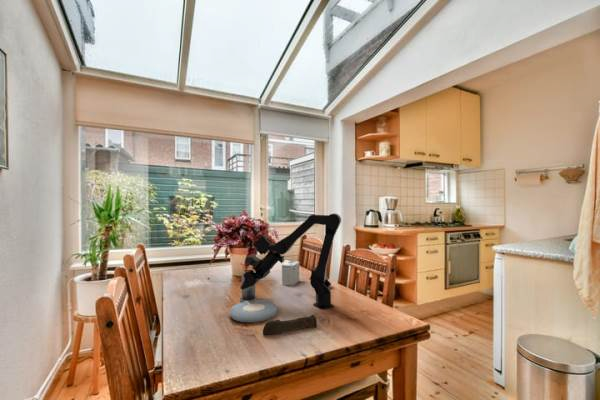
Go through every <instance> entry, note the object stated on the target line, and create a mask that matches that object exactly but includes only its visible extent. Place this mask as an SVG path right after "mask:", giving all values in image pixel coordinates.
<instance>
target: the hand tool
mask: <svg viewBox="0 0 600 400" xmlns="http://www.w3.org/2000/svg"><path fill="white" fill-rule="evenodd" d="M317 326H318V323H317V317H316V316H315V315H314V314H311V315H309V316H303V317H298V318H294V319H289V320H280V319H275V320H269V321H266V322H265V324H264V327H263V328H262V335H263V336H265V337H267V336H269V337H270V336H277V335H281V334H282V333H285V332H290V331H294V330H301V329H307V328H312V327H314V328H317Z"/></svg>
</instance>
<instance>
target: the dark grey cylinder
mask: <svg viewBox="0 0 600 400" xmlns="http://www.w3.org/2000/svg"><path fill="white" fill-rule="evenodd" d="M244 273H245V272H243V273H241V285H242V284H243V282H244V280H245V278H244V276H243V274H244ZM251 300H258V296H256V284H255V285H253V286H250V287H248V288H245V289H243V290H241V297H239V303H241V302H245V301H251Z"/></svg>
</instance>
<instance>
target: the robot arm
mask: <svg viewBox="0 0 600 400" xmlns="http://www.w3.org/2000/svg"><path fill="white" fill-rule="evenodd" d="M341 223H342V218H341V215H340V214H338V213H330V214H328V215H327V214H326V215H325V214H310V215H309V216H308V218H307V219H305V220H304V222H302V223H301V224H299V226H298V227H297V228H295V230H293V231H292V232H291V233H290V234H288V235H287V236H286V237H283V238H282V239H280V240H279V241H277V242H273V243H272V242H270V240H269V239H267V238H268V237H266V236H265V235H262V236H261V237H259V238H258V239H257V240H255V241H254V242H253V243H252V247H253V248H254V249H255V250H256V251H257V252H258V254H260V255H264V257H263V258H259V256H256V255H254V254H249V255H247V256H246V258H245V261H244V263H245V264H247V265H250V266H251V267H252V269H253V270H252V269H248V270H246V271H245V272H243V273H244V274H243V273H242V274H243V276H244V278H245V280H244V282H243V284H242V283H241V285H240V290H241V291H242V290H243V289H245V288H248V287H250V286H253V285H255V286H256V284H257V283H258V282H259V281H260V280H262V279H265V277H267V276H268V275H269V274H271V270H272V269H273V268H274V266H276V265H277V263H278V262H279V263H281V264H282V263H283V264H284V262H285V254H286V253H288V252H290V251H291V249H292V247H293V246H294V245H295V244H296V243H297V241H298V240H299V239H300V238H301V237H302V236H303V235H304V234H306V233H307V231H309V230H310V229H311V228H312V227H313V226H315V225H320V226H321V225H323V226H324V229H325V233H324V234H325V235H324V237H323V241H322V246H321V251H320V254H319V257H318V261H317V262H318V263H317V265H316V267H315V266H314V267H313V268H312V269H311V273H310V277H309V280H310V281H309V284H310V285H311V287H312V288H313V289H314V292H315V303H314V302H313V304H312V305H313V306H314V307H316V308H319V309H320V310H325V309H328V308H333V307H334V306H335V305H334V304H332V299H331V298H332V297H331V296H332V293H331V290H330V289H331V287H332V283H331V282H330V280H329V279H328V280H327V279H326V275H327V266H328V262H329V258H330V254H331V250H332V247H333V242H334V239H335V236H336V233H337V231H338V229H339V228H340V225H341Z"/></svg>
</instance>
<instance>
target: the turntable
mask: <svg viewBox="0 0 600 400" xmlns="http://www.w3.org/2000/svg"><path fill="white" fill-rule="evenodd" d="M277 313H278V306H277V304H276V303H275V302H273V301H270V300H265V299H257V300H251V301H245V302H239V303H236V304H234V305H233V306H232V307H231V308H230V317H231V319H233V321H234V320H235V321H237V322H243V323H256V322H257V323H258V322H263V321H266V320H269V319H271V318H273V317H274V316H276V315H277Z"/></svg>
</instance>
